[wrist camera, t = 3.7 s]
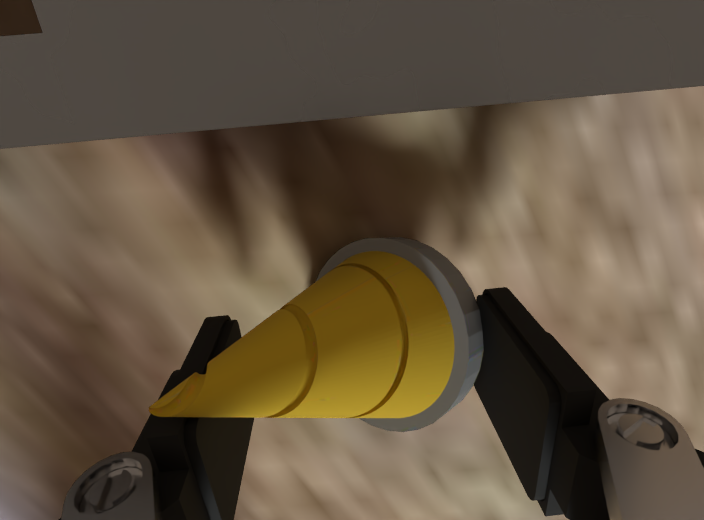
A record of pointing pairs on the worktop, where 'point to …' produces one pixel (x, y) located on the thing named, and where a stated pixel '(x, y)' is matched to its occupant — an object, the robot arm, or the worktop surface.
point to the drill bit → (352, 346)
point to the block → (325, 60)
